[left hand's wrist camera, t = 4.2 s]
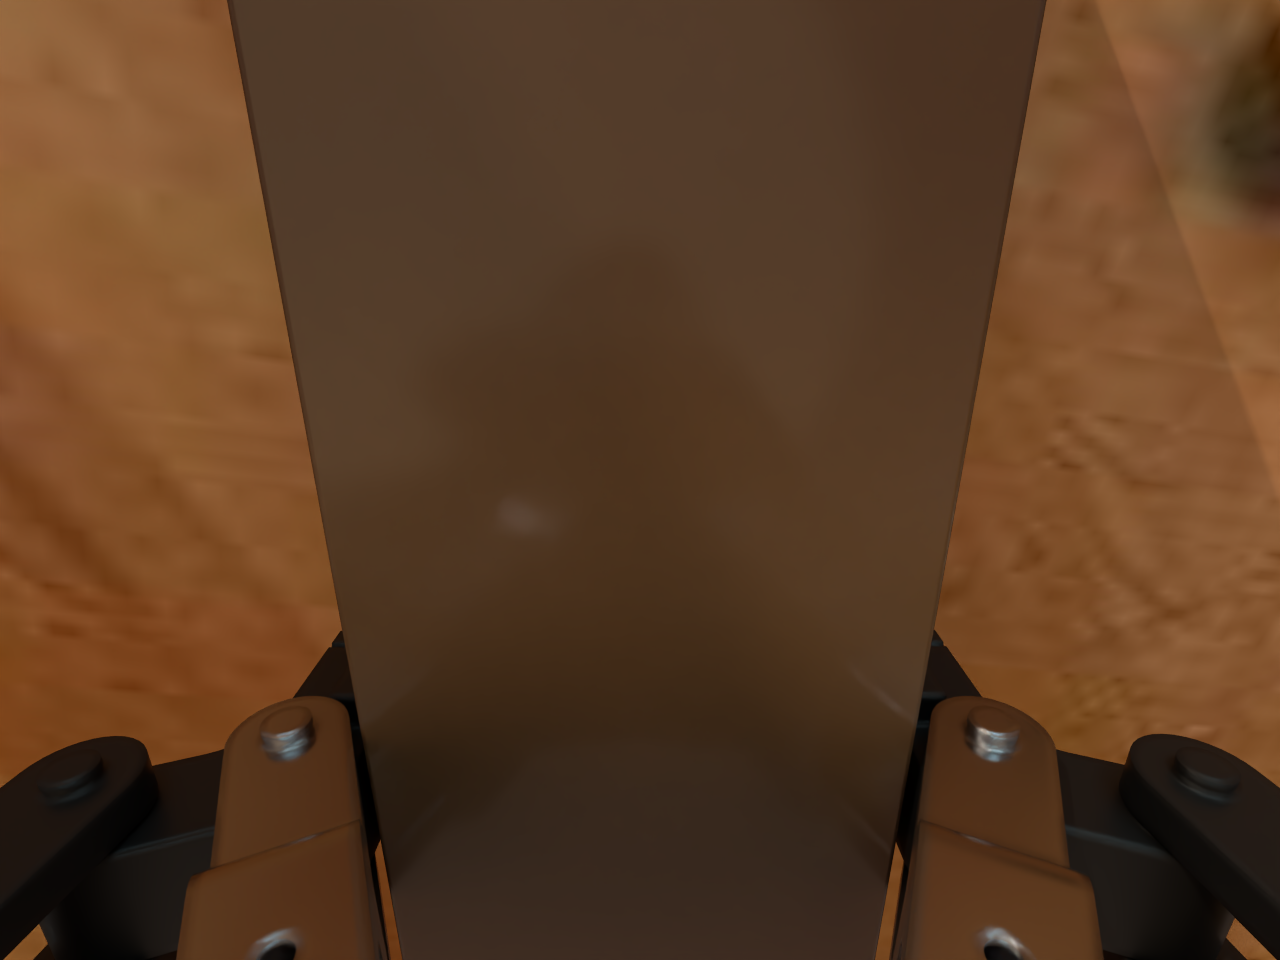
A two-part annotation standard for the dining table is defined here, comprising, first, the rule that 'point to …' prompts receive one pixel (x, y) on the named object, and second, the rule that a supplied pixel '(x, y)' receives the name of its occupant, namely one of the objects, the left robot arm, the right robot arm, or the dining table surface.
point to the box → (637, 436)
